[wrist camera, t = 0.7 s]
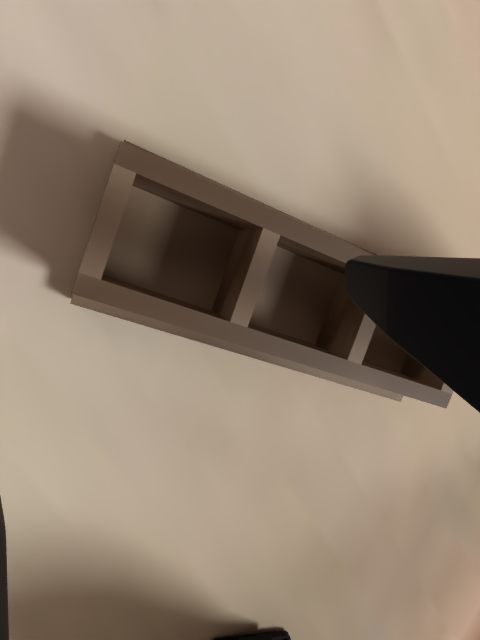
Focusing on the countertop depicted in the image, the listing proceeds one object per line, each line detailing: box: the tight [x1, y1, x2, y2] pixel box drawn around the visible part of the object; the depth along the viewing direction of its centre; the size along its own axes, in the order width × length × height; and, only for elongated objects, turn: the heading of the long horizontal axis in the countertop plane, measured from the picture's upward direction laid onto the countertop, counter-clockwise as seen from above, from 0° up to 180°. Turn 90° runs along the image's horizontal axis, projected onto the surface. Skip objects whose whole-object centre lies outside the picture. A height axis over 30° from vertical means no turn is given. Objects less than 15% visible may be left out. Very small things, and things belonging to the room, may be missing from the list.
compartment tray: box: [70, 140, 453, 408], centre depth 24 cm, size 9×24×5 cm, turn 69°
